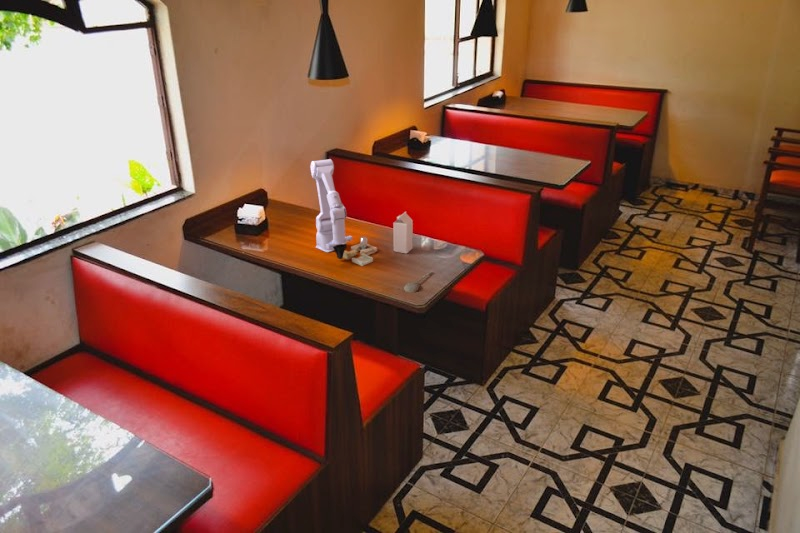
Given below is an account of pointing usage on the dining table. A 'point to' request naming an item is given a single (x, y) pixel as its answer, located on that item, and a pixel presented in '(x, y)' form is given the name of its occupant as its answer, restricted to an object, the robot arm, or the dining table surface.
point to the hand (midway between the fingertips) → (340, 258)
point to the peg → (363, 243)
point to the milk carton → (403, 234)
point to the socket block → (367, 251)
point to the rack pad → (362, 260)
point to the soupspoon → (414, 285)
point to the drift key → (349, 254)
